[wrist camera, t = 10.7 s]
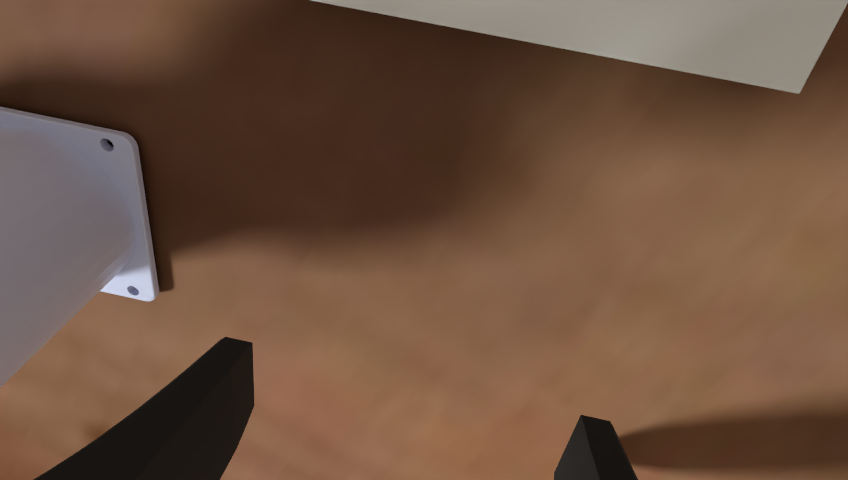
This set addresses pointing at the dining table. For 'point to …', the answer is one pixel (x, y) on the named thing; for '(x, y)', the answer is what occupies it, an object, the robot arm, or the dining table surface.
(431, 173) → the dining table surface
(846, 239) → the dining table surface
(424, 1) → the pinboard
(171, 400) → the robot arm
